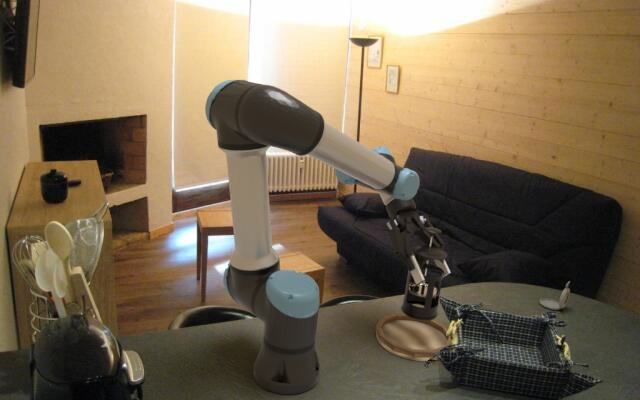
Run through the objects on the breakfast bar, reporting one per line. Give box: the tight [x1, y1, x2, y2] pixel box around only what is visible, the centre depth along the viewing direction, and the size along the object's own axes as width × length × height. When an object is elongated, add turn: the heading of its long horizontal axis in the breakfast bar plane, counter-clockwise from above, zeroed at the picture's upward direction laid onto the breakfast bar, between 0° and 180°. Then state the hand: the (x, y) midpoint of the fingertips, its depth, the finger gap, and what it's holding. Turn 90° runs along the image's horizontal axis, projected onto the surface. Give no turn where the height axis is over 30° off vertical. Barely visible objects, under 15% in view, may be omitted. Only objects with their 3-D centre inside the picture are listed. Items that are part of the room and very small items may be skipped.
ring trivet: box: [375, 312, 451, 362], centre depth 140 cm, size 20×20×2 cm
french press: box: [400, 226, 448, 320], centre depth 135 cm, size 12×9×23 cm
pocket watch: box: [539, 280, 571, 311], centre depth 166 cm, size 8×8×10 cm
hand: (433, 278), depth 133 cm, fingers closed on french press, 9 cm apart
